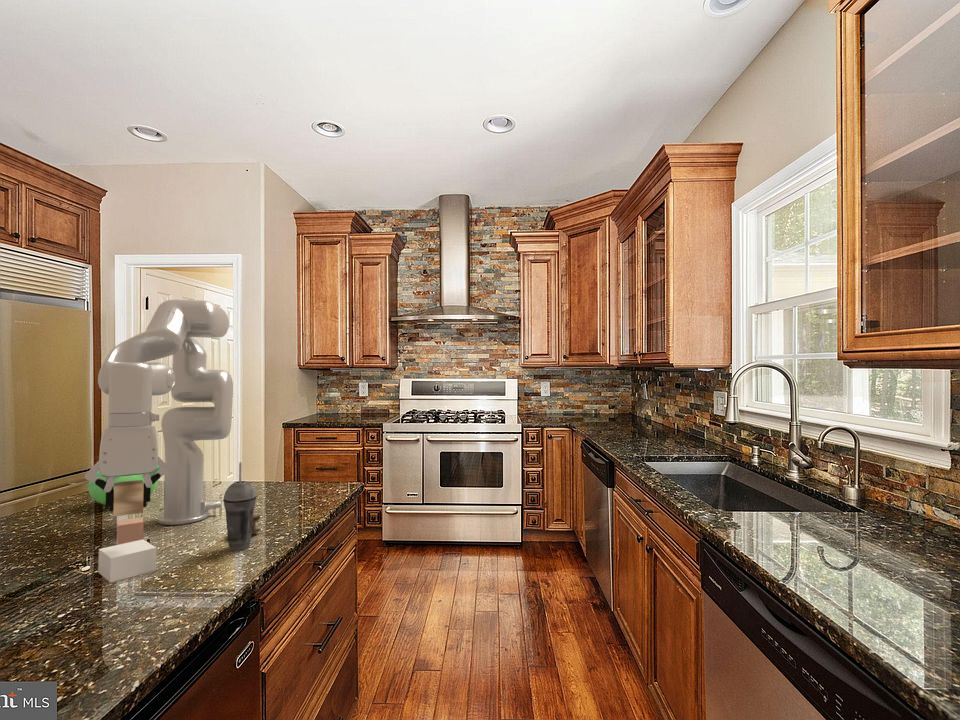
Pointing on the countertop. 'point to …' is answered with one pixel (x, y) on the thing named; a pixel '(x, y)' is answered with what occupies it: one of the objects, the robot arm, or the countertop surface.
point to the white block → (127, 560)
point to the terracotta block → (129, 530)
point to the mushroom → (255, 519)
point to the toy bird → (100, 494)
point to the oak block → (128, 497)
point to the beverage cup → (239, 513)
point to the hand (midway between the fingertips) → (128, 507)
